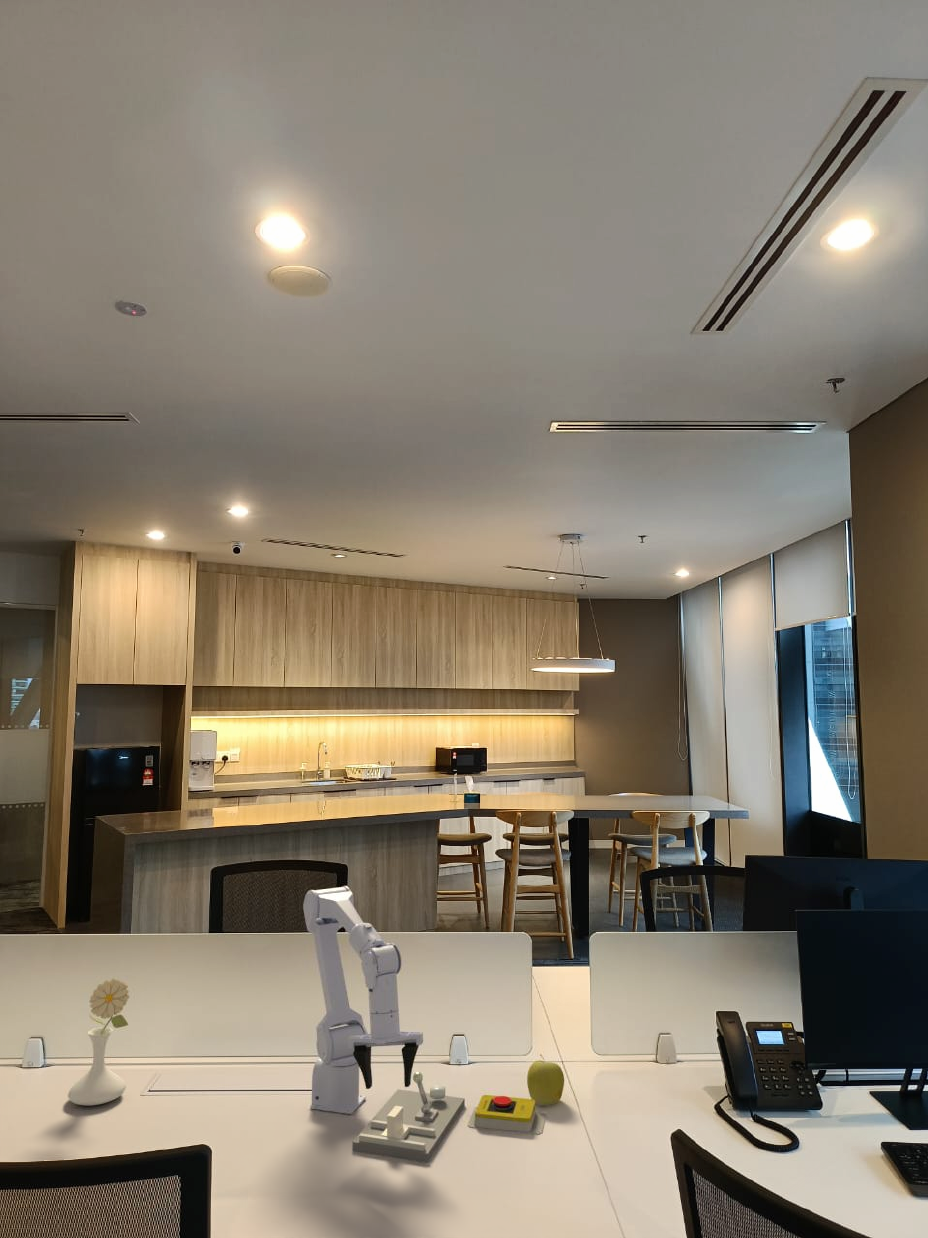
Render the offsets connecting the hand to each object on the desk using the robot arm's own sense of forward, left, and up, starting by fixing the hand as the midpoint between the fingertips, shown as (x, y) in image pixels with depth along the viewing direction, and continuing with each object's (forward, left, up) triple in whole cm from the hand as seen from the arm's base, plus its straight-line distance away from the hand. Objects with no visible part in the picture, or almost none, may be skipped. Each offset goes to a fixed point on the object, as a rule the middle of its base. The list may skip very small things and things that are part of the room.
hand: (388, 1086), depth 166 cm
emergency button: (+20, +16, -11) cm, 28 cm away
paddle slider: (+2, -1, -9) cm, 9 cm away
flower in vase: (-65, -1, -10) cm, 66 cm away
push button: (+5, +16, -8) cm, 19 cm away
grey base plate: (+2, +7, -10) cm, 13 cm away
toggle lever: (+5, +9, -7) cm, 13 cm away
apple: (+26, +26, -10) cm, 38 cm away
